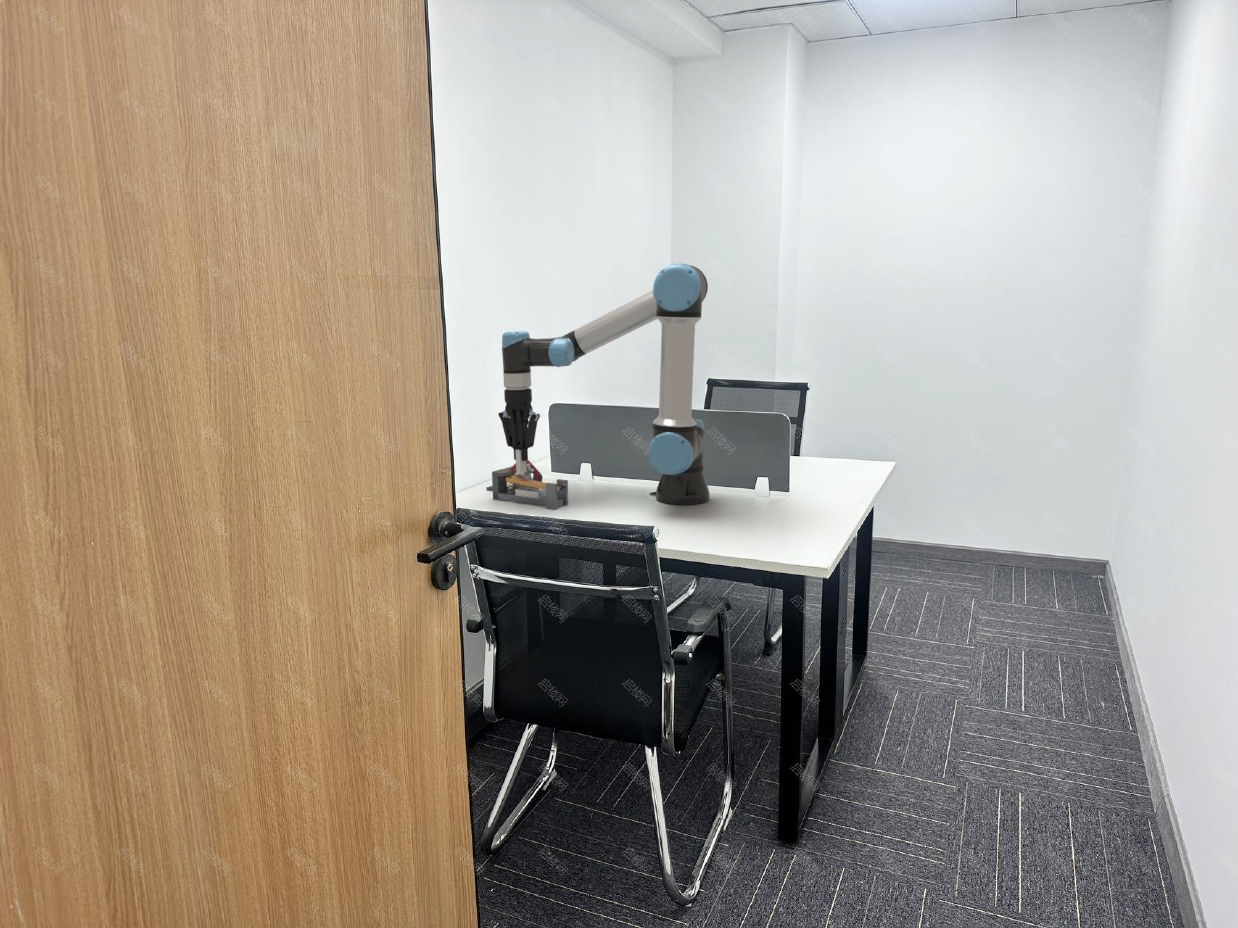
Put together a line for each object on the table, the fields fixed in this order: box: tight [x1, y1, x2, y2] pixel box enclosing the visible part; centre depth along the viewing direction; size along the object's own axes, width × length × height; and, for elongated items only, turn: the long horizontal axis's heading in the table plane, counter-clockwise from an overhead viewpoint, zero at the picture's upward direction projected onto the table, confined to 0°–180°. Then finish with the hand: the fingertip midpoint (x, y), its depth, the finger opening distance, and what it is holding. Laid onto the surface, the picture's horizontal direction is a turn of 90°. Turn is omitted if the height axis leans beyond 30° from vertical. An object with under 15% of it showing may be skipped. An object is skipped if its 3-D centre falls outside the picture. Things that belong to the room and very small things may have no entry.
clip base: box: [491, 468, 569, 510], centre depth 236 cm, size 22×6×8 cm, turn 59°
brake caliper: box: [507, 459, 544, 491], centre depth 246 cm, size 11×11×12 cm
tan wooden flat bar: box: [506, 476, 562, 491], centre depth 235 cm, size 17×3×1 cm, turn 59°
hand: (521, 471), depth 236 cm, fingers closed
